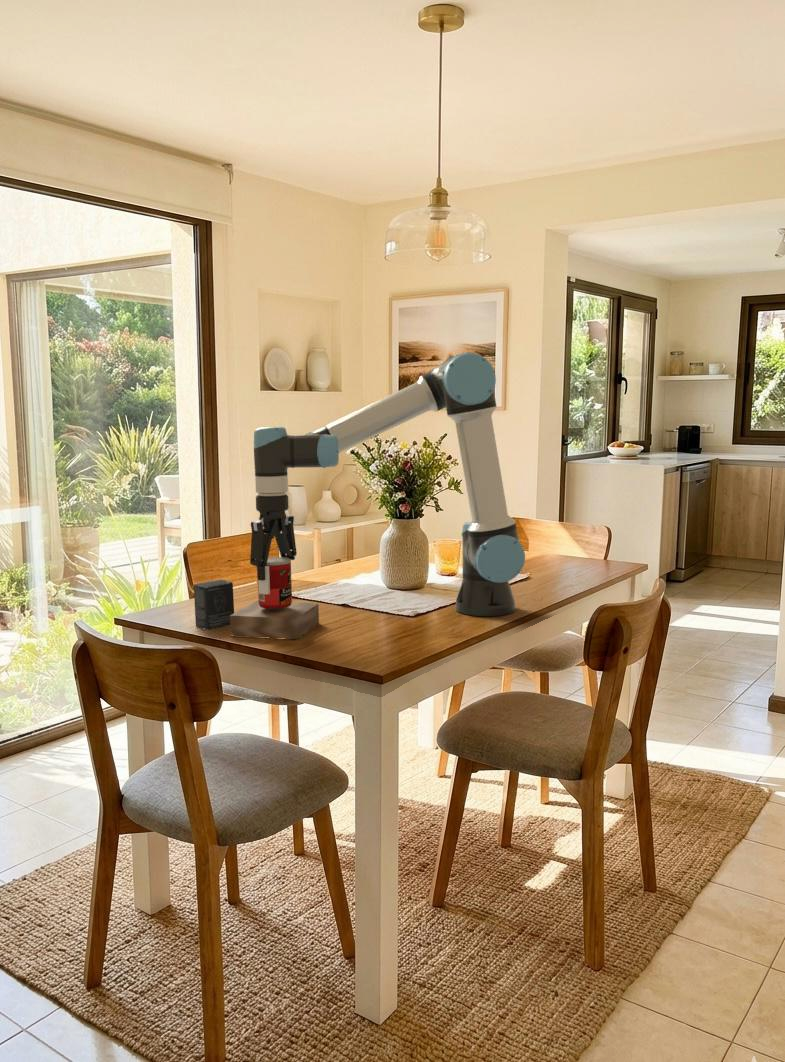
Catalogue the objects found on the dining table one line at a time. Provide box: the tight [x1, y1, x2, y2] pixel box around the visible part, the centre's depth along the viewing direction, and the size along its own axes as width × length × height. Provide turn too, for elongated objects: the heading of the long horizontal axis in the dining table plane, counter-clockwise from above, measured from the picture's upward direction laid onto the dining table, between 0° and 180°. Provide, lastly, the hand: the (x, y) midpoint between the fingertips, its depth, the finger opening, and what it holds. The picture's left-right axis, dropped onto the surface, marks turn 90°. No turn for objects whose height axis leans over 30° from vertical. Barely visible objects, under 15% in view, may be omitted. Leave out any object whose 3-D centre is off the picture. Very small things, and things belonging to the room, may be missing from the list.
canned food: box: [257, 556, 293, 609], centre depth 215 cm, size 8×8×11 cm
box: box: [193, 579, 235, 630], centre depth 221 cm, size 8×6×11 cm
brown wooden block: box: [229, 600, 320, 640], centre depth 216 cm, size 16×16×5 cm
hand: (275, 590), depth 215 cm, fingers closed on canned food, 8 cm apart
